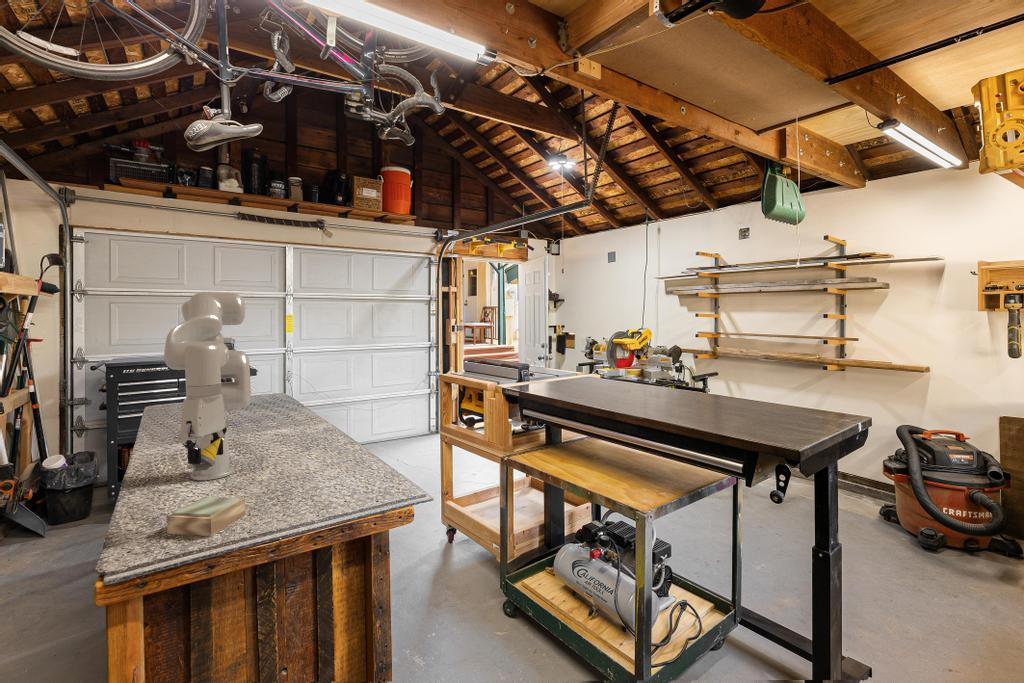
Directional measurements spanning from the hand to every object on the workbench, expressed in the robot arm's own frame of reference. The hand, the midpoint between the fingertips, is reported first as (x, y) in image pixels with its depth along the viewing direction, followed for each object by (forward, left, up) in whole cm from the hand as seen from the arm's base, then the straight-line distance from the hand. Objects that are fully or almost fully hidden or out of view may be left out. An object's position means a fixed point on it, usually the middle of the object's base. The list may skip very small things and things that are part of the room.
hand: (206, 458), depth 117 cm
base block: (0, 0, -17) cm, 17 cm away
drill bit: (0, 0, -2) cm, 2 cm away
